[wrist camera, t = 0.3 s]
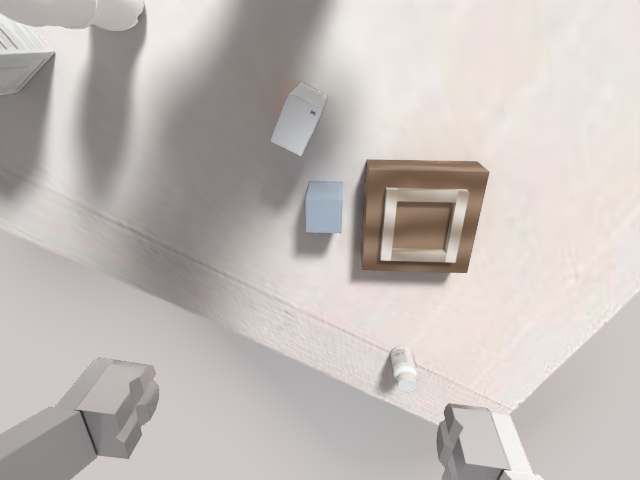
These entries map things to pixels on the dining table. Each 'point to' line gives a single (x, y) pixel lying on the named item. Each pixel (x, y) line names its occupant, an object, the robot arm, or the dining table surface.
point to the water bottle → (74, 13)
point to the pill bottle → (404, 368)
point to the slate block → (324, 207)
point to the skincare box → (299, 118)
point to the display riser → (421, 214)
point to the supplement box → (20, 54)
